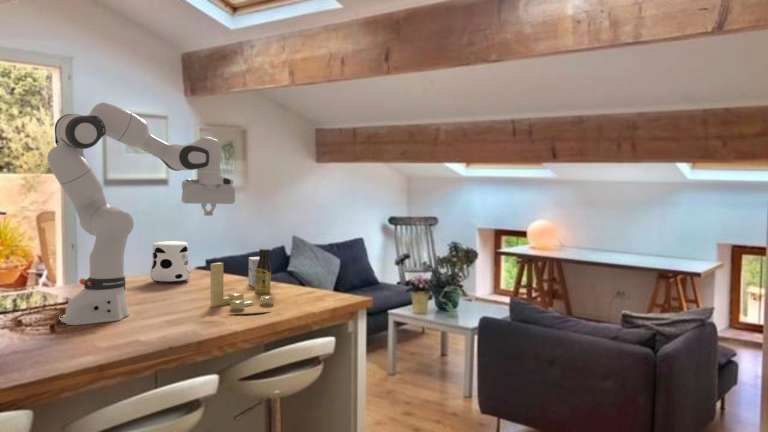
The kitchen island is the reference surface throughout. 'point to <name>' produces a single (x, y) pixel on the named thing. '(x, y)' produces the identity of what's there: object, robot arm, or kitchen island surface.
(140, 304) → the kitchen island surface
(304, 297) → the kitchen island surface
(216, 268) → the lever knob
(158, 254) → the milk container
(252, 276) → the supplement box
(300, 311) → the kitchen island surface
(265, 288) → the sauce bottle
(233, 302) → the levelling plate
